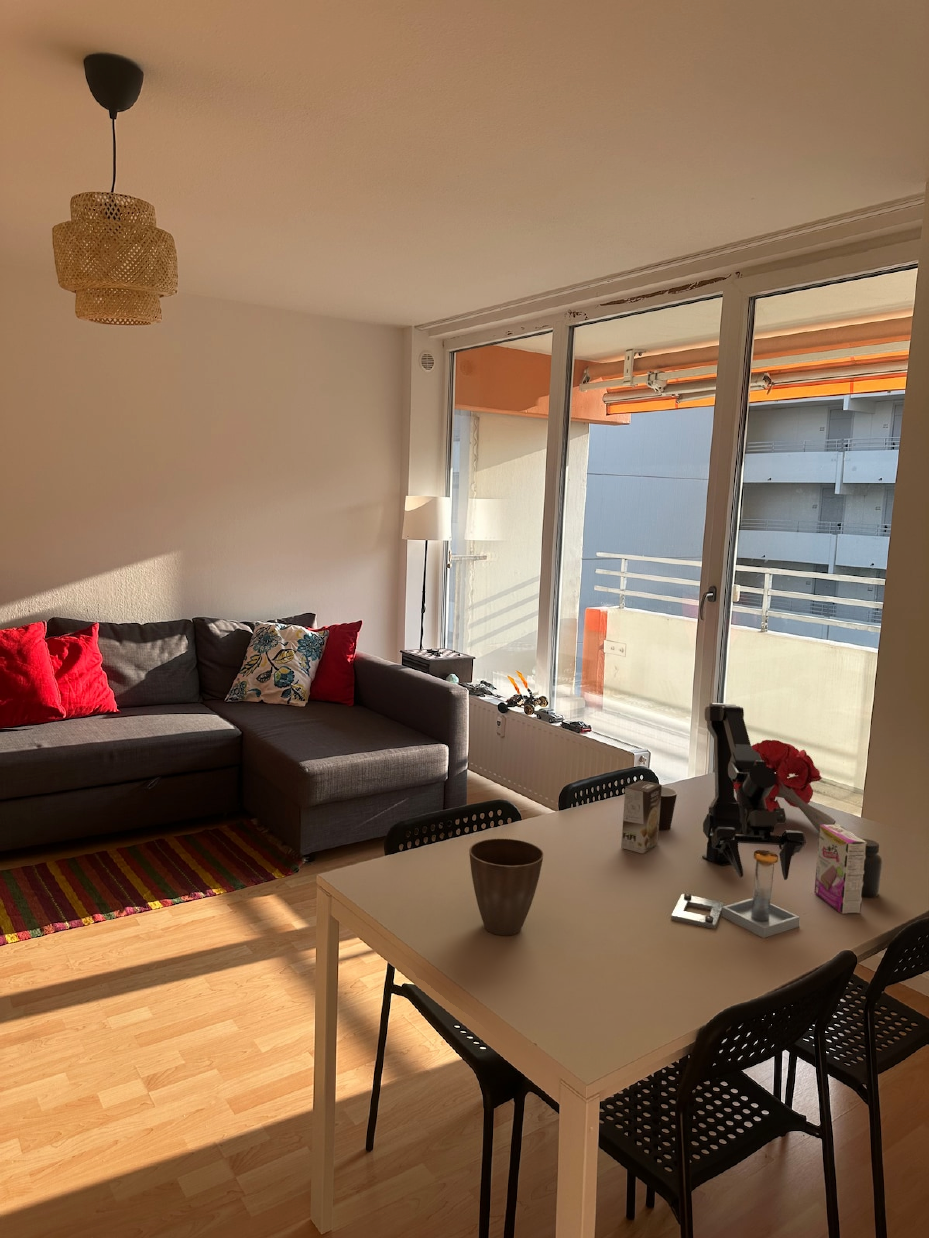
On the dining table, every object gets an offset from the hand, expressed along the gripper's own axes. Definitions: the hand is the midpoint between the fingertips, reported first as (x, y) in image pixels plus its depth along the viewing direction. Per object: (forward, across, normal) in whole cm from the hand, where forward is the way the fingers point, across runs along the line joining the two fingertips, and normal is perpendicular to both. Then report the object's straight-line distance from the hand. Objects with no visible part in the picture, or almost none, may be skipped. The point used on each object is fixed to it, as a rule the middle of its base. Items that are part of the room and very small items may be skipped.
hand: (763, 878), depth 186 cm
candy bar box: (-1, +20, +15) cm, 25 cm away
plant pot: (+13, -54, +1) cm, 56 cm away
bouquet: (-38, +24, +52) cm, 69 cm away
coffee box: (-22, -19, +36) cm, 46 cm away
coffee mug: (-34, -11, +48) cm, 60 cm away
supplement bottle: (-6, +29, +20) cm, 36 cm away
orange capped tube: (+6, 0, +7) cm, 9 cm away
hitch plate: (+5, -12, +9) cm, 16 cm away
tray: (+7, 0, +7) cm, 10 cm away
